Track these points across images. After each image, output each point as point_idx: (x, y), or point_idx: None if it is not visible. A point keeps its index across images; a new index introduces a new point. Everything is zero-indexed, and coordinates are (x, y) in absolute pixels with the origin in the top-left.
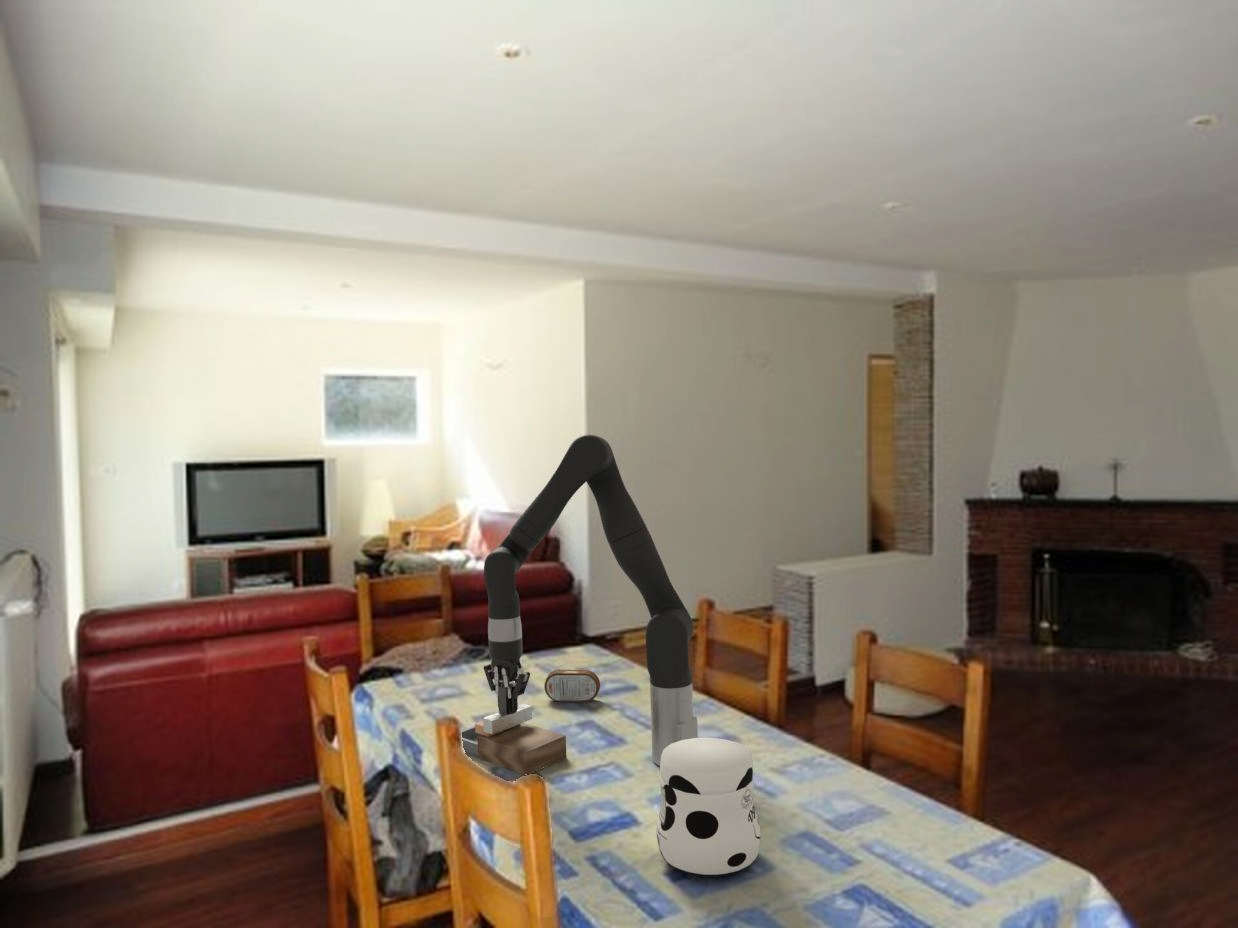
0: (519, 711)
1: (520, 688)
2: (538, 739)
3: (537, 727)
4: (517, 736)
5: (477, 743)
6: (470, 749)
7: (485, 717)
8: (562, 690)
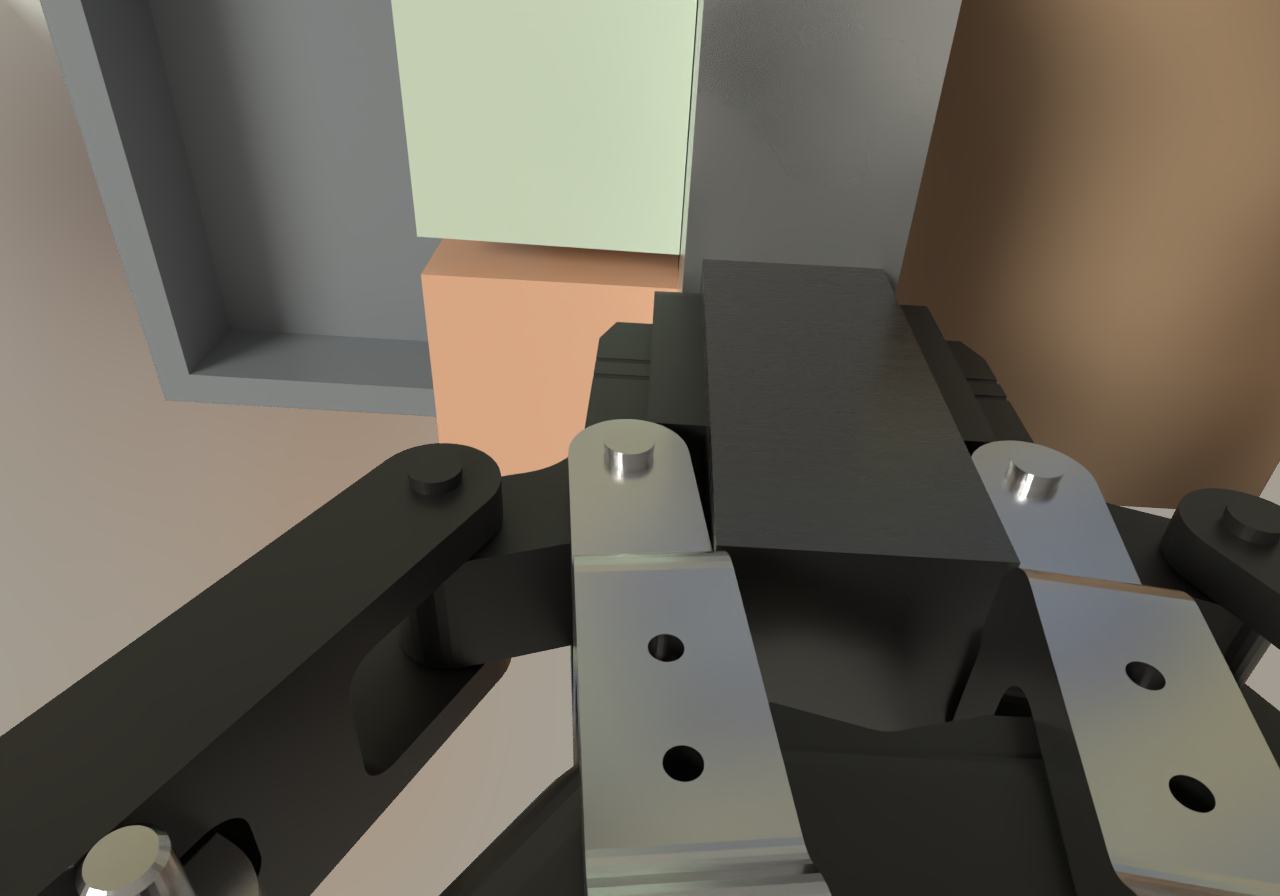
0: (907, 215)
1: (1261, 622)
2: (1235, 222)
3: None
4: (939, 282)
5: None
6: None
7: None
8: None
